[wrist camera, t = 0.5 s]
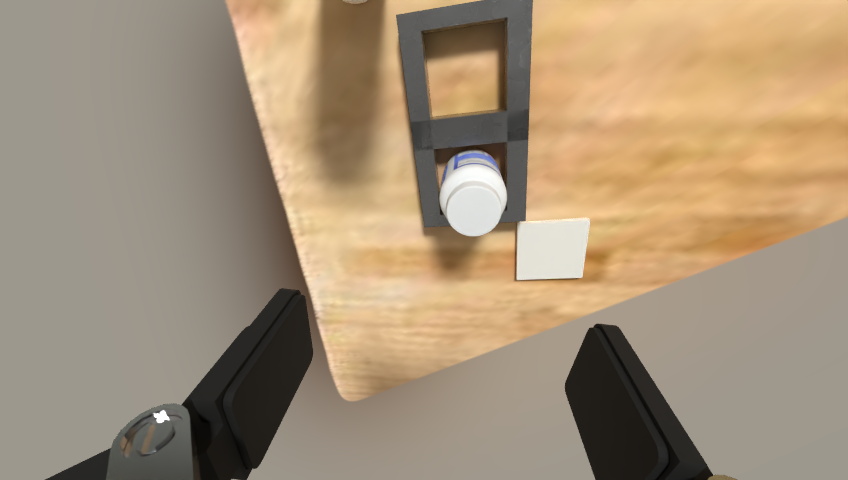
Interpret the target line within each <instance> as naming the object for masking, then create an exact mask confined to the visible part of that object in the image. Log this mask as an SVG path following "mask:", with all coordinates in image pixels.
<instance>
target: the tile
mask: <svg viewBox="0 0 848 480" xmlns="http://www.w3.org/2000/svg"><path fill="white" fill-rule="evenodd" d="M589 225H590V219H589V218H574V219H558V220H541V221H525V222H517V247H516V279H517V280H529V279H559V278H582V276H583V268H584V261H585V254H586V247H587V239H588V232H589Z"/></svg>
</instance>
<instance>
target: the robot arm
mask: <svg viewBox="0 0 848 480" xmlns="http://www.w3.org/2000/svg"><path fill="white" fill-rule="evenodd" d="M312 357H313V348H312V341H311V334H310V327H309V320H308V313H307V306H306V299H305V296H304V295H301V293H300V291H299V290H291V289H283V288H282V289H280V290H279V291H278V292H277V293H276V294H275V295H274V297H273V298H272V299H271V300H270V301H269V303H268V304H267V305H266V306H265V308H264V309H263V310H262V311H261V313H260V314H259V315H258V316H257V318H256V319H255V320H254V321H253V323H252V324H251V325H250V326H248V327H246V328H245V329H244V330H243V331H242V332H241V333H240V334H239V335H238V337H237V338H236V339H235V340H234V342H233V343H232V344H231V345H230V346H229V348H228V349H227V350H226V351H225V352H224V354H223V355H222V356H221V357H220V359H219V360H218V361H217V362H216V363H215V365H214V366H213V367H212V368H211V369H210V371H209V372H208V373H207V374H206V376H205V377H204V378H203V379H202V380H201V382H200V383H199V384H198V385H197V387H196V388H195V389H194V390H193V391H192V393H191V394H190V395H189V396H188V397H187V399H186V400H185V401H184V402H183V404H182V405H179V404H163V405H160V406H157V407H154V408H151V409H149V410H147V411H145V412H143V413H141V414H140V415H138V416H137V417H136V418H134V419H133V420H131V421H130V422H129V423H128V424H127V425H126V426H125V427H124V428H123V429H122V430H121V431H120V432H119V434H118V436H117V437H116V438H115V439H114V441H113V444H112V447H111V448H110V449H108V450H106V451H104V452H101V453H99V454H97V455H95V456H93V457H91V458H89V459H87V460H85V461H83V462H81V463H79V464H77V465H75V466H73V467H70V468H68V469H66V470H64V471H62V472H60V473H58V474H56V475H54V476H52V477H50V478H48V479H46V480H231V479H238V480H247V478H248V476H249V474H250V472H251V470H252V468H253V469H255V468H257V467H258V466H259V465H260V463H261V462H262V460H263V458H264V456H265V454H266V452H267V450H268V447H269V445H270V444H271V441H272V440H273V437H274V435H275V434H276V432H277V430H278V427H279V425H280V423H281V421H282V419H283V417H284V415H285V413H286V411H287V409H288V407H289V405H290V403H291V401H292V399H293V397H294V395H295V393H296V391H297V389H298V387H299V385H300V383H301V381H302V379H303V377H304V375H305V373H306V371H307V369H308V367H309V365H310V363H311V361H312ZM565 392H566V395H567V398H568V401H569V404H570V407H571V410H572V413H573V416H574V418H575V421H576V424H577V427H578V430H579V433H580V436H581V439H582V442H583V444H584V448H585V450H586V453H587V456H588V459H589V462H590V465H591V467H592V471H593V474H594V476H595V479H596V480H737V479H735V478H732V477H728V476H725V475H714V476H713V474H712V473H711V471H710V470H709V468H708V466H707V464H706V463H705V461H704V459H703V458H702V456H701V455H700V453H699V452H698V450H697V449H696V447H695V446H694V444H693V442H692V441H691V439H690V438H689V436H688V434H687V433H686V431H685V430H684V428H683V427H682V425H681V423H680V422H679V420H678V419H677V417H676V416H675V414H674V413H673V411H672V409H671V408H670V406H669V405H668V403H667V402H666V400H665V399H664V397H663V395H662V394H661V392H660V391H659V389H658V388H657V386H656V384H655V383H654V381H653V380H652V378H651V377H650V375H649V374H648V372H647V371H646V369H645V367H644V366H643V364H642V363H641V361H640V360H639V358H638V356H637V355H636V353H635V352H634V350H633V349H632V347H631V345H630V344H629V343H628V341H627V339H626V338H625V336H624V335H623V333H622V331H621V330H620V329H619V327H617V326H614V325H605V324H596V325H595V326H594V327H593V328H589V330H588V332H587V334H586V336H585V338H584V340H583V343H582V345H581V347H580V350H579V352H578V354H577V357H576V359H575V361H574V364H573V366H572V368H571V371H570V373H569V375H568V377H567V380H566V383H565Z"/></svg>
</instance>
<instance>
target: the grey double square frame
mask: <svg viewBox="0 0 848 480" xmlns="http://www.w3.org/2000/svg"><path fill="white" fill-rule="evenodd" d="M532 5H533V0H482V1H476V2H470V3H464V4H458V5H452V6H446V7H440V8H435V9H429V10H423V11H417V12H411V13H405V14H399V15H396V18H397V25H398V33H399V40H400V47H401V55H402V62H403V70H404V77H405V85H406V92H407V100H408V107H409V115H410V122H411V130H412V137H413V145H414V152H415V160H416V167H417V175H418V182H419V190H420V197H421V205H422V212H423V219H424V227H438V226H451V225H450V223H449V221H448V219H447V218H446V217H445V215H444V213H443V211H442V209H441V206H440V200H439V197H440V187H439V178H438V168H437V158H436V149H441V148H451V147H461V146H471V145H481V144H491V143H501V142H505V187H506V191H507V202H506V206H505V209H504V211H503V213H502V215H501V217H500V220H499V222H498V223H503V222H519V221H526V190H527V159H528V128H529V98H530V67H531V36H532ZM500 21H504V28H505V109H497V110H488V111H479V112H471V113H462V114H454V115H445V116H436V117H432V109H431V99H430V90H429V80H428V70H427V60H426V51H425V41H424V33H430V32H437V31H443V30H449V29H456V28H462V27H468V26H475V25H481V24H487V23H494V22H500Z"/></svg>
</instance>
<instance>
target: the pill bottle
mask: <svg viewBox="0 0 848 480" xmlns="http://www.w3.org/2000/svg"><path fill="white" fill-rule="evenodd" d="M439 200H440V206H441V209H442V211H443V213H444V215H445V217H446V218H447V219H448V221H449V223H450V225H451V226H452V228H453V229H454V230H456V231H457V232H459V233H461V234H463V235H466V236H481V235H484V234H486V233H488V232H490V231H491V230H492V229H494V228H495V226H496V225H497V224H498V222H499V220H500V217H501V215H502V213H503V211H504V209H505V206H506V202H507V191H506V187H505V184H504V181H503V179H502V176H501V173H500V171H499V168H498V165H497V163H496V162H495V160H494V159H493V157H492V156H491V155H490V154H488V153H487V152H485V151H483V150H480V149H474V148H471V149H465V150H462V151H460V152H458V153H457V154H455V155H454V156H453V157H452V158H451V159H450V160H449V161H448V163H447V165H446V167H445V170H444V174H443V179H442V184H441V189H440V197H439Z"/></svg>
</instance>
